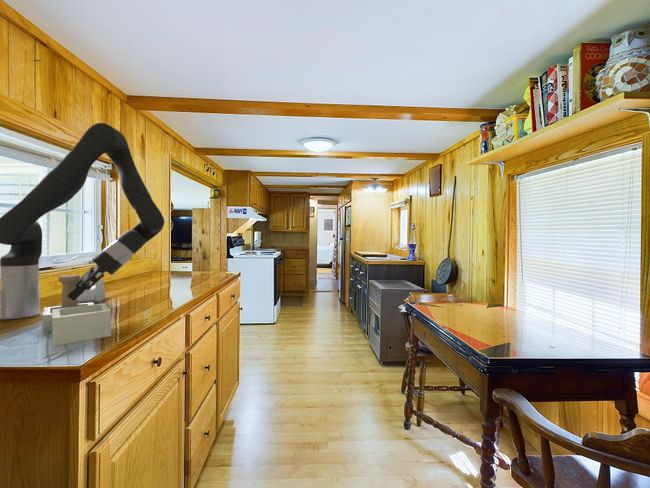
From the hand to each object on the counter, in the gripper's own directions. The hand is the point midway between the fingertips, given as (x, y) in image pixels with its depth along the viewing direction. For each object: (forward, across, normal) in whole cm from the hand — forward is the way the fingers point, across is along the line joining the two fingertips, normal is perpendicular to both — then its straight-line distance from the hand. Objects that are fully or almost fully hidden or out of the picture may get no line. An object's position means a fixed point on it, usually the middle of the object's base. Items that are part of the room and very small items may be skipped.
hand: (69, 296), depth 95 cm
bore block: (+6, 0, +6) cm, 9 cm away
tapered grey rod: (0, -18, +13) cm, 22 cm away
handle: (+6, 0, +6) cm, 9 cm away
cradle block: (+5, +15, +8) cm, 17 cm away
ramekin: (+1, -41, +11) cm, 43 cm away
